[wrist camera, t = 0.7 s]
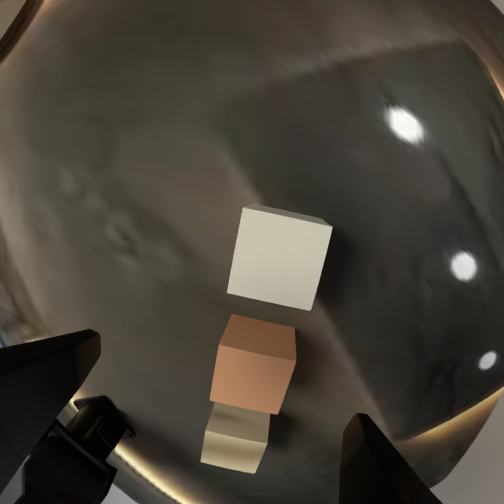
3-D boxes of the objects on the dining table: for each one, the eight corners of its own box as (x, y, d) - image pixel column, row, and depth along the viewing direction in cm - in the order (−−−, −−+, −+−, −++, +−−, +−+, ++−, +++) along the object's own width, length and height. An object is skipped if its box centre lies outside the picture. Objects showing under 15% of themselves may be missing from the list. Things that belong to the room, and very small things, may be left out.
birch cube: (259, 437, 25) (254, 473, 20) (211, 426, 26) (200, 461, 21) (271, 405, 24) (267, 443, 19) (217, 393, 24) (205, 430, 20)
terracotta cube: (279, 376, 23) (277, 414, 18) (222, 364, 24) (209, 400, 19) (294, 326, 22) (296, 361, 17) (232, 313, 23) (219, 344, 18)
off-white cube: (305, 284, 21) (310, 310, 17) (239, 270, 22) (227, 292, 17) (321, 218, 20) (332, 227, 15) (252, 203, 21) (242, 207, 16)
